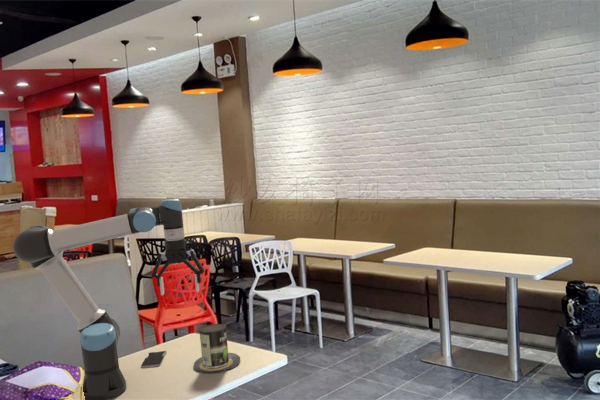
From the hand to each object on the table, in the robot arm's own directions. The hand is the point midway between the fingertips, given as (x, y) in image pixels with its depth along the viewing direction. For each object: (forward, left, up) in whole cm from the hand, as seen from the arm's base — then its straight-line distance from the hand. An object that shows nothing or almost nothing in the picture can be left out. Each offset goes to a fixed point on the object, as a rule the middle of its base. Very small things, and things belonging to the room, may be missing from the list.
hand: (180, 293), depth 214 cm
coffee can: (+12, -5, -28) cm, 31 cm away
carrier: (+12, -2, -29) cm, 31 cm away
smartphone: (-15, +8, -29) cm, 34 cm away
